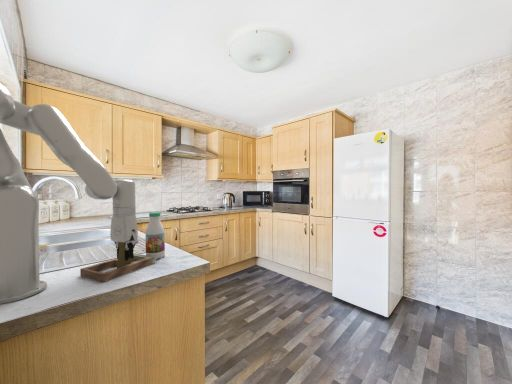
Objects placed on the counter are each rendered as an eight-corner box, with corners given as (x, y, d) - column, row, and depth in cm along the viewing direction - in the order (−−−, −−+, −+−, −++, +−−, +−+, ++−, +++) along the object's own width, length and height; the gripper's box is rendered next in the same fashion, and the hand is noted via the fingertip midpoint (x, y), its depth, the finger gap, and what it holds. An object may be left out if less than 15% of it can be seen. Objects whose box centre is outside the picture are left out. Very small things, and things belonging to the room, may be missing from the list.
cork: (137, 265, 84) (137, 237, 83) (121, 270, 79) (120, 241, 78) (130, 262, 87) (129, 236, 87) (113, 267, 82) (113, 239, 82)
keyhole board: (103, 282, 69) (103, 274, 69) (80, 275, 75) (80, 268, 75) (155, 262, 88) (155, 256, 87) (133, 259, 93) (133, 253, 93)
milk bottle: (143, 257, 96) (143, 212, 96) (161, 253, 101) (160, 211, 101) (148, 261, 90) (148, 213, 90) (167, 257, 95) (166, 212, 95)
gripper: (101, 211, 83) (101, 259, 83) (129, 213, 76) (130, 264, 76) (120, 210, 89) (121, 253, 90) (147, 211, 82) (148, 258, 83)
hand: (125, 258), depth 83 cm, fingers closed on cork, 3 cm apart
